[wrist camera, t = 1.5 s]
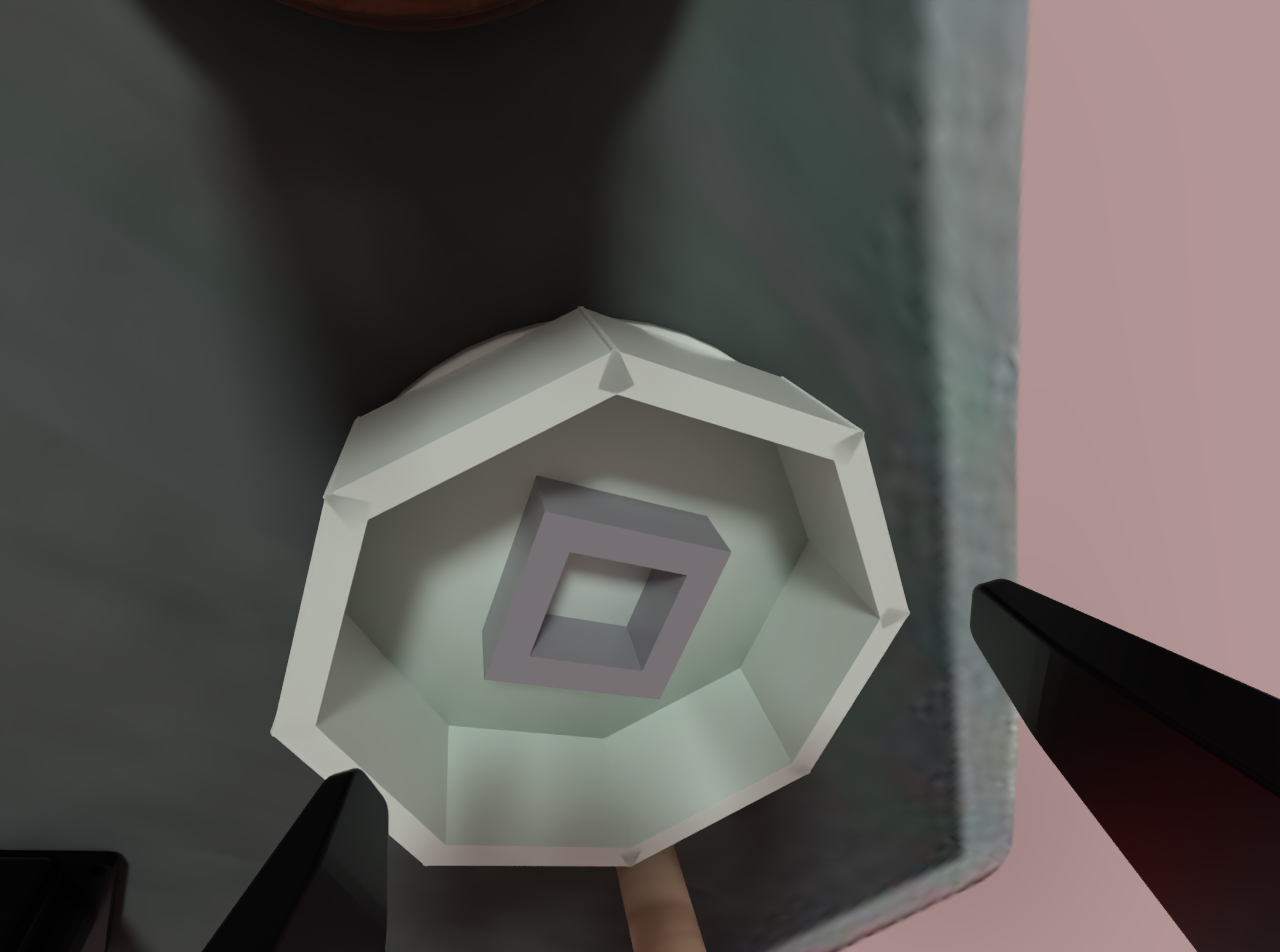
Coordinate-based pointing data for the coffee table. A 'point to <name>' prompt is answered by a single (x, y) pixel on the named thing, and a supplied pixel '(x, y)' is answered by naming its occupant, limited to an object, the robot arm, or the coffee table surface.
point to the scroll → (412, 12)
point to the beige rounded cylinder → (659, 905)
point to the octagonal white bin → (587, 596)
